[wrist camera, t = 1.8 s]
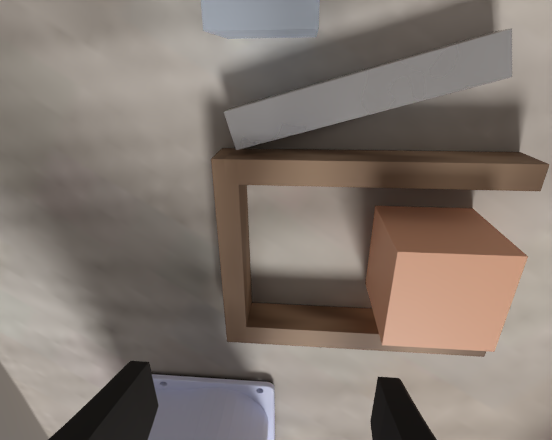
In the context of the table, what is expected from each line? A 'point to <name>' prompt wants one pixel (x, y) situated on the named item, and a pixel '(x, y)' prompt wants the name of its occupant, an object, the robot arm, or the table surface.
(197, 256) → the table surface
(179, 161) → the table surface
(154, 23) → the table surface
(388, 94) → the steel bar
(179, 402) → the robot arm
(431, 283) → the cube
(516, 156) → the bay
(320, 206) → the table surface
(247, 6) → the slate block
